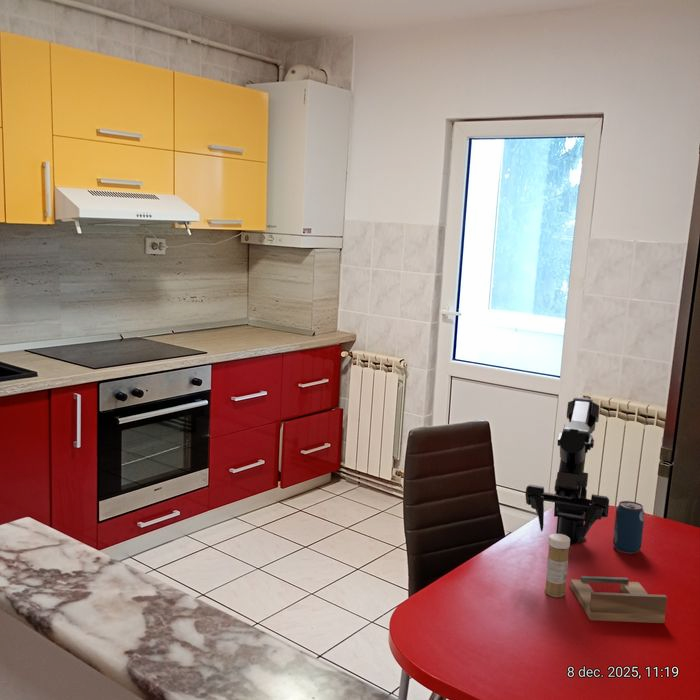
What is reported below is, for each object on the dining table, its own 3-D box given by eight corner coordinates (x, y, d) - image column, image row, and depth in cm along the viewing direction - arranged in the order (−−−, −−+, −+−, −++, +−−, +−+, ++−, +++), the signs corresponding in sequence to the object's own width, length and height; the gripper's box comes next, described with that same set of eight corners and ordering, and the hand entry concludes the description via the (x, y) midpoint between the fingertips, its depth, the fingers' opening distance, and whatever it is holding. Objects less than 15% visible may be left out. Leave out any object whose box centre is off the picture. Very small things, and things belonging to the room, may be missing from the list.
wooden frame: (570, 586, 173) (572, 562, 172) (637, 589, 173) (640, 565, 172) (590, 620, 159) (592, 594, 158) (664, 623, 159) (667, 597, 158)
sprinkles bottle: (552, 586, 173) (557, 531, 171) (569, 594, 169) (574, 537, 167) (540, 592, 170) (544, 535, 168) (557, 600, 167) (562, 542, 164)
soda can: (646, 551, 195) (651, 507, 193) (628, 556, 191) (633, 511, 189) (624, 541, 201) (628, 498, 199) (606, 546, 197) (610, 502, 195)
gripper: (529, 451, 179) (518, 511, 170) (612, 463, 172) (605, 525, 164) (531, 474, 187) (521, 532, 179) (611, 486, 181) (604, 547, 172)
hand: (561, 534), depth 173 cm, fingers open, 9 cm apart
